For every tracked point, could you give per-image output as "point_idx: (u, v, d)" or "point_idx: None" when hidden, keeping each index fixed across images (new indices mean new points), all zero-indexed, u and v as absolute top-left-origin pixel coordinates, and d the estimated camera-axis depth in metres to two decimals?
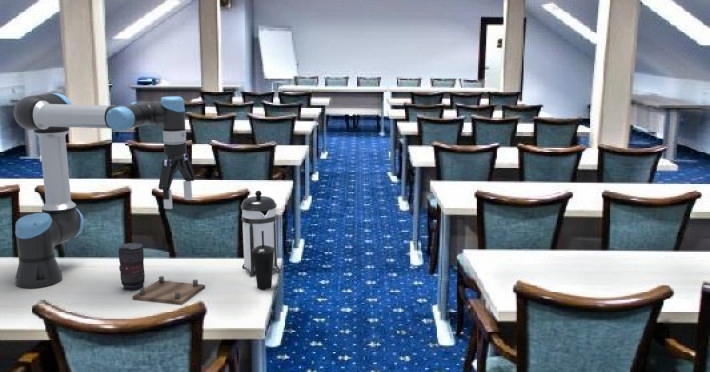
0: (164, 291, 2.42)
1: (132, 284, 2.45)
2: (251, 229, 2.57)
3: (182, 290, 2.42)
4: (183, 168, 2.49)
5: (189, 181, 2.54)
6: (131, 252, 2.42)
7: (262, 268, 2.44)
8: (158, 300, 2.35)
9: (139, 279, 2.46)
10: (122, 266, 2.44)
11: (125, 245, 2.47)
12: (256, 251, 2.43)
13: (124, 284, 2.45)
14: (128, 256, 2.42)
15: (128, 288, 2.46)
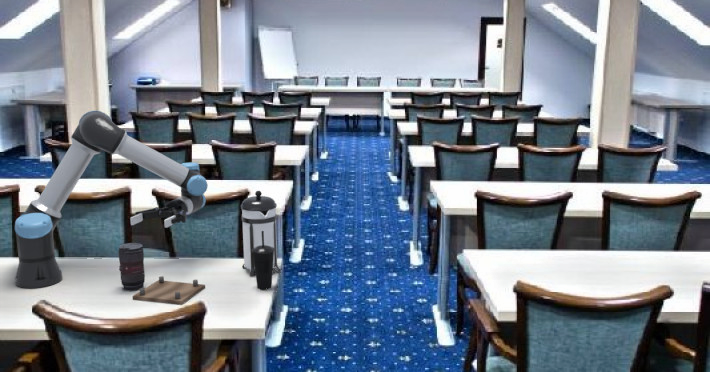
0: (164, 291, 2.42)
1: (132, 284, 2.45)
2: (251, 229, 2.57)
3: (182, 290, 2.42)
4: (158, 216, 2.68)
5: None
6: (131, 252, 2.42)
7: (262, 268, 2.44)
8: (158, 300, 2.35)
9: (139, 279, 2.46)
10: (122, 266, 2.44)
11: (125, 245, 2.47)
12: (256, 251, 2.43)
13: (124, 284, 2.45)
14: (128, 256, 2.42)
15: (128, 288, 2.46)
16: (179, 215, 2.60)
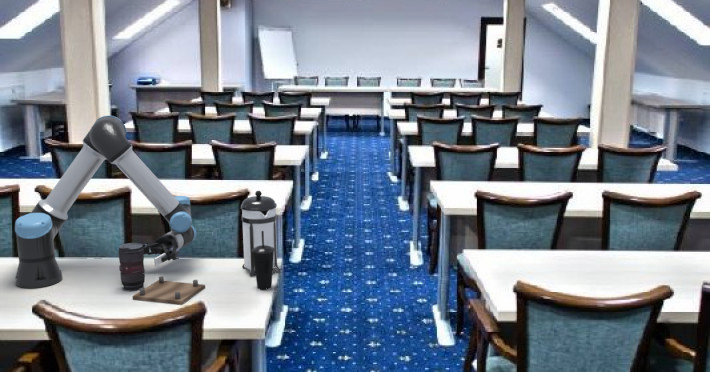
0: (164, 291, 2.42)
1: (132, 284, 2.45)
2: (251, 229, 2.57)
3: (182, 290, 2.42)
4: (148, 252, 2.61)
5: None
6: (131, 252, 2.42)
7: (262, 268, 2.44)
8: (158, 300, 2.35)
9: (139, 279, 2.46)
10: (122, 266, 2.44)
11: (125, 245, 2.47)
12: (256, 251, 2.43)
13: (124, 284, 2.45)
14: (128, 256, 2.42)
15: (128, 288, 2.46)
16: (169, 253, 2.53)
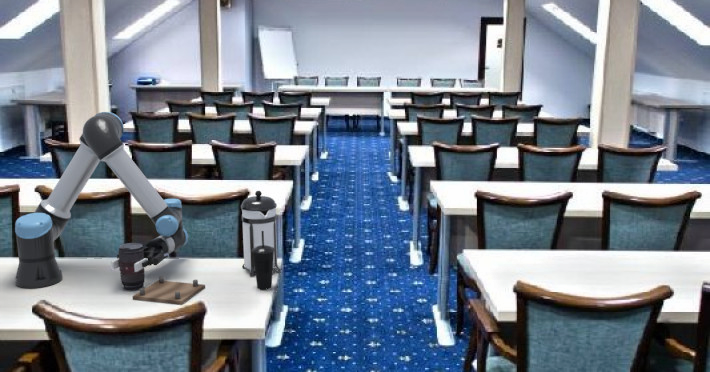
0: (164, 291, 2.42)
1: (132, 284, 2.45)
2: (251, 229, 2.57)
3: (182, 290, 2.42)
4: None
5: None
6: (131, 252, 2.42)
7: (262, 268, 2.44)
8: (158, 300, 2.35)
9: (139, 279, 2.46)
10: (122, 266, 2.44)
11: (125, 245, 2.47)
12: (256, 251, 2.43)
13: (124, 284, 2.45)
14: (128, 256, 2.42)
15: (128, 288, 2.46)
16: (150, 258, 2.47)
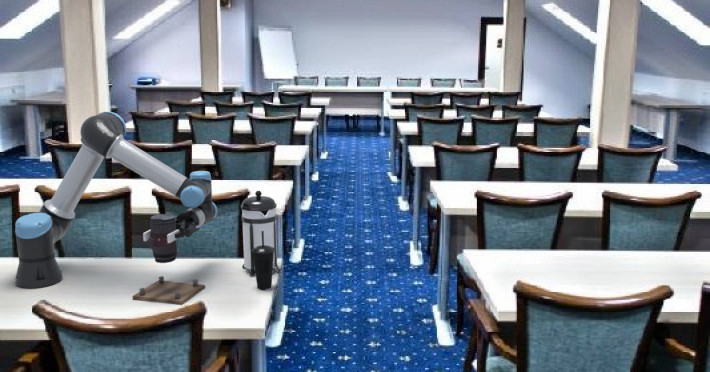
0: (164, 291, 2.42)
1: (164, 256, 2.37)
2: (251, 229, 2.57)
3: (182, 290, 2.42)
4: None
5: None
6: (163, 223, 2.35)
7: (262, 268, 2.44)
8: (158, 300, 2.35)
9: (171, 251, 2.38)
10: (154, 237, 2.37)
11: (157, 216, 2.39)
12: (256, 251, 2.43)
13: (156, 256, 2.38)
14: (160, 227, 2.35)
15: (160, 260, 2.38)
16: (183, 229, 2.40)
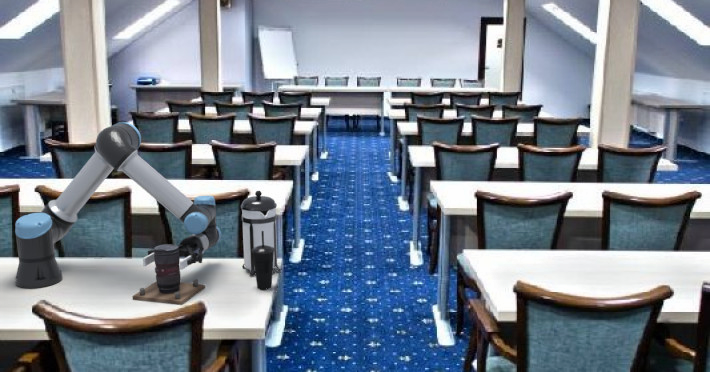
0: None
1: (168, 287, 2.39)
2: (251, 229, 2.57)
3: (182, 290, 2.42)
4: None
5: None
6: (167, 254, 2.36)
7: (262, 268, 2.44)
8: (158, 300, 2.35)
9: (175, 281, 2.40)
10: (158, 268, 2.38)
11: (160, 246, 2.41)
12: (256, 251, 2.43)
13: (160, 286, 2.39)
14: (164, 258, 2.36)
15: (164, 290, 2.39)
16: (195, 255, 2.42)
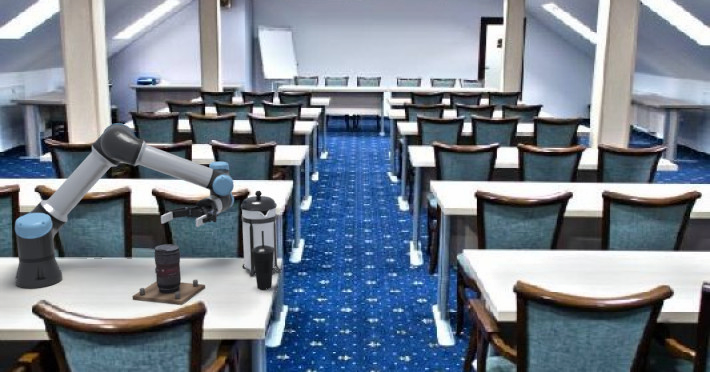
0: None
1: (168, 287, 2.39)
2: (251, 229, 2.57)
3: (182, 290, 2.42)
4: (188, 215, 2.64)
5: None
6: (167, 254, 2.36)
7: (262, 268, 2.44)
8: (158, 300, 2.35)
9: (175, 282, 2.39)
10: (158, 268, 2.38)
11: (161, 246, 2.41)
12: (256, 251, 2.43)
13: (160, 286, 2.39)
14: (164, 258, 2.36)
15: (164, 290, 2.39)
16: (210, 214, 2.56)
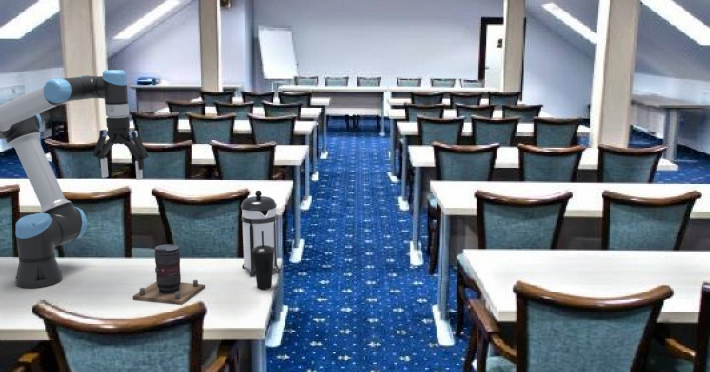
0: None
1: (168, 287, 2.39)
2: (251, 229, 2.57)
3: (182, 290, 2.42)
4: None
5: None
6: (168, 254, 2.36)
7: (262, 268, 2.44)
8: (158, 300, 2.35)
9: (175, 281, 2.40)
10: (158, 268, 2.38)
11: (161, 246, 2.41)
12: (256, 251, 2.43)
13: (160, 286, 2.39)
14: (165, 258, 2.36)
15: (164, 290, 2.39)
16: None
